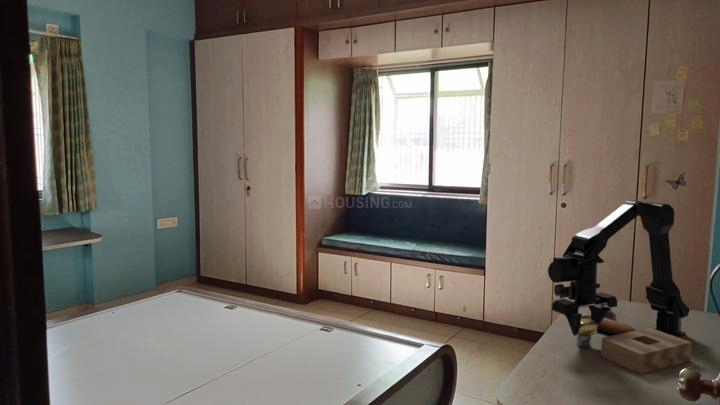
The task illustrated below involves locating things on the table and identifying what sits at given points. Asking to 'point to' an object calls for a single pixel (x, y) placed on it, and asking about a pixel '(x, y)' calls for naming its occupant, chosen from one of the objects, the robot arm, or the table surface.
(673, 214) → the robot arm
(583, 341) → the gold shiny rounded part
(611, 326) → the sunglasses case
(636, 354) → the socket block
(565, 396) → the table surface
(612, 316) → the pale lilac cylinder
